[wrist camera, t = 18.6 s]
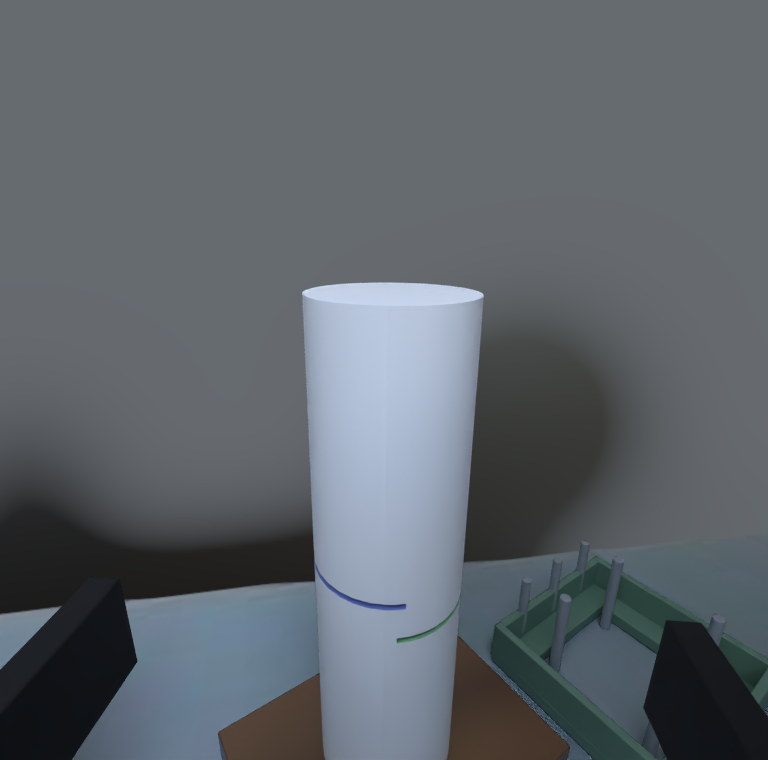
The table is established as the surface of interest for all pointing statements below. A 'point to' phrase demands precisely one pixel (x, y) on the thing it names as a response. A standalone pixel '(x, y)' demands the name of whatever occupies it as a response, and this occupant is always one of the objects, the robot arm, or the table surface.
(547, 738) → the brown slab
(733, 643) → the drying rack
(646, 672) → the table surface
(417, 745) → the cylindrical container
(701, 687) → the robot arm
